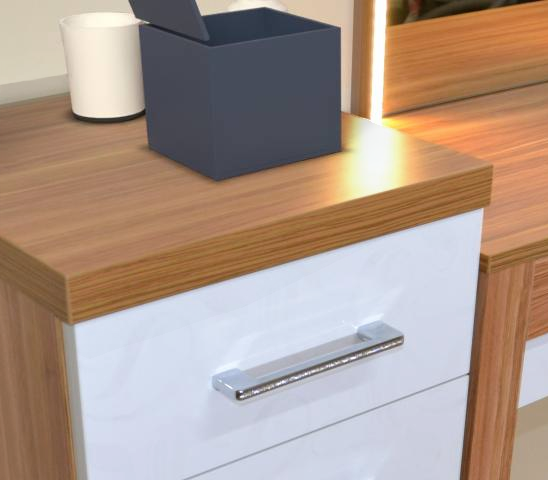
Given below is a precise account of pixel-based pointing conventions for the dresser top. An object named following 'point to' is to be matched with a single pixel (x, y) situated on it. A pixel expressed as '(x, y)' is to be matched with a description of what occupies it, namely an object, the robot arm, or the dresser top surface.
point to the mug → (104, 66)
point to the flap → (172, 16)
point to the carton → (243, 91)
